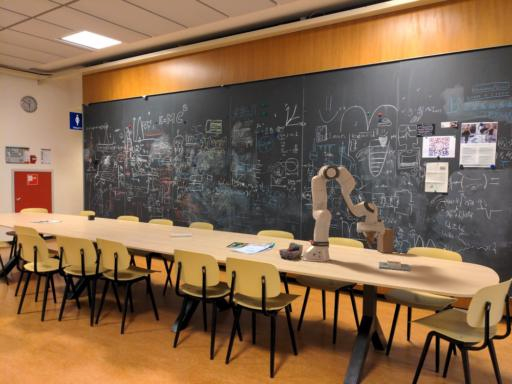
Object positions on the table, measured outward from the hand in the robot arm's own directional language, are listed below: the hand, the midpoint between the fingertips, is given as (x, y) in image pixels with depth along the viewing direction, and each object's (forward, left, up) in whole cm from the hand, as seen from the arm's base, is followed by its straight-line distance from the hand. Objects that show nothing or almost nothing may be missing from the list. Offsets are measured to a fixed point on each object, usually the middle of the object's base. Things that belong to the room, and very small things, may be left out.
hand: (370, 237), depth 279 cm
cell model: (-56, +17, -20) cm, 62 cm away
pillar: (0, +1, -5) cm, 5 cm away
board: (+13, -12, -19) cm, 26 cm away
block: (+28, +40, -19) cm, 52 cm away
